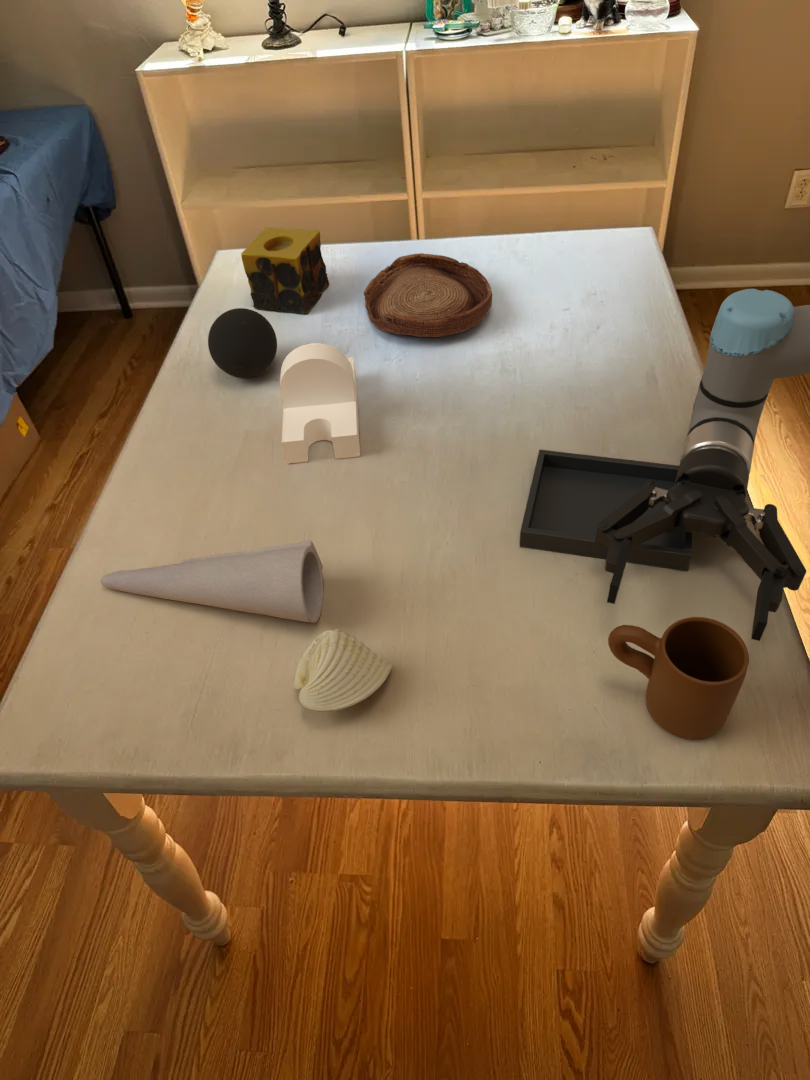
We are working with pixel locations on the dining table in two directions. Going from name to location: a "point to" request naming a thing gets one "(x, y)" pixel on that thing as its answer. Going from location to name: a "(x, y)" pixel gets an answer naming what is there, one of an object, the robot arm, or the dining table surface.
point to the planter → (238, 581)
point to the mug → (686, 672)
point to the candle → (285, 269)
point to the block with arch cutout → (319, 402)
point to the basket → (427, 296)
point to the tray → (596, 507)
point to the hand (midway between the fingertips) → (683, 612)
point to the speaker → (242, 343)
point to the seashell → (338, 672)
